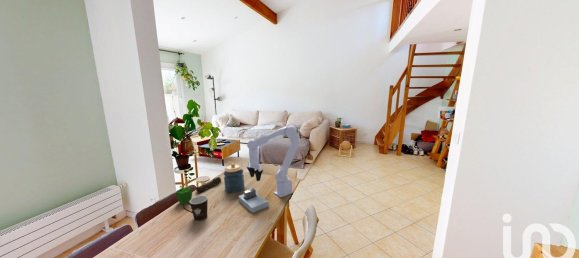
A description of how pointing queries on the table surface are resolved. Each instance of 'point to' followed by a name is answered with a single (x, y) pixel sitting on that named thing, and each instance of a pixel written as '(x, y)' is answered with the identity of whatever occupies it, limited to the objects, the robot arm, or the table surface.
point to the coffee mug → (198, 207)
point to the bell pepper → (184, 195)
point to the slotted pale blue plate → (254, 203)
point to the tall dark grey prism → (249, 194)
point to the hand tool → (208, 184)
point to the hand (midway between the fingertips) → (255, 178)
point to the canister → (233, 178)
